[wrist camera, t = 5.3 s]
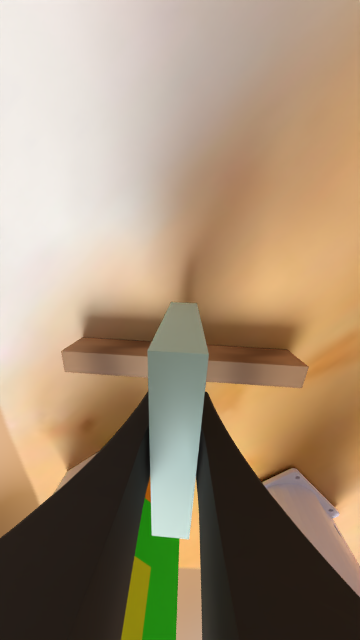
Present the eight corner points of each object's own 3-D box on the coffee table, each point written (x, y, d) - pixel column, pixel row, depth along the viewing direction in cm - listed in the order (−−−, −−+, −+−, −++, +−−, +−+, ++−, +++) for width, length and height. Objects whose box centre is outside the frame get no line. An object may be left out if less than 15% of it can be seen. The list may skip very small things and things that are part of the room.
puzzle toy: (67, 470, 20) (-39, 647, 11) (123, 435, 18) (52, 617, 9) (124, 512, 22) (75, 694, 13) (181, 485, 20) (174, 679, 11)
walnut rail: (287, 349, 14) (308, 366, 12) (282, 368, 15) (302, 388, 12) (82, 337, 15) (61, 351, 12) (84, 355, 15) (65, 371, 13)
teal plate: (171, 302, 12) (147, 350, 5) (197, 303, 11) (208, 354, 5) (168, 413, 15) (151, 535, 8) (188, 414, 15) (188, 539, 8)
